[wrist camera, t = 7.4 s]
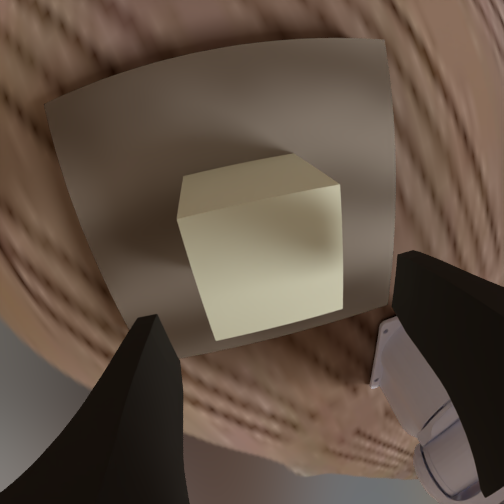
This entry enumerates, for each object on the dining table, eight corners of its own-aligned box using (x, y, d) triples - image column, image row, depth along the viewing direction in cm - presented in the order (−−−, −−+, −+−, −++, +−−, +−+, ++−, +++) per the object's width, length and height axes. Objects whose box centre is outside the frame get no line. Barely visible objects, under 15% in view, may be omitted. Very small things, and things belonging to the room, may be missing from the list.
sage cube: (304, 248, 16) (342, 308, 12) (208, 271, 16) (215, 341, 11) (293, 153, 13) (340, 184, 9) (183, 176, 13) (176, 219, 9)
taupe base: (371, 284, 21) (387, 304, 19) (151, 337, 20) (148, 363, 18) (360, 44, 13) (384, 39, 11) (64, 101, 12) (43, 104, 10)
